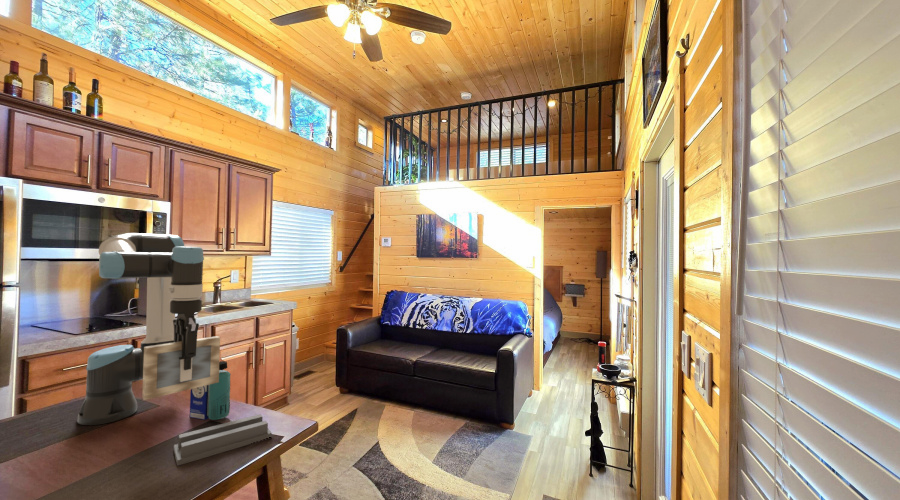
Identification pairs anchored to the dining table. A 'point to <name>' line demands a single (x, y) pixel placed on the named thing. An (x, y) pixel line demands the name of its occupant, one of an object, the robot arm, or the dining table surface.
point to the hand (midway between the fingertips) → (183, 378)
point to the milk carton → (199, 402)
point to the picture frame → (165, 367)
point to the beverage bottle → (220, 394)
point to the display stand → (220, 438)
